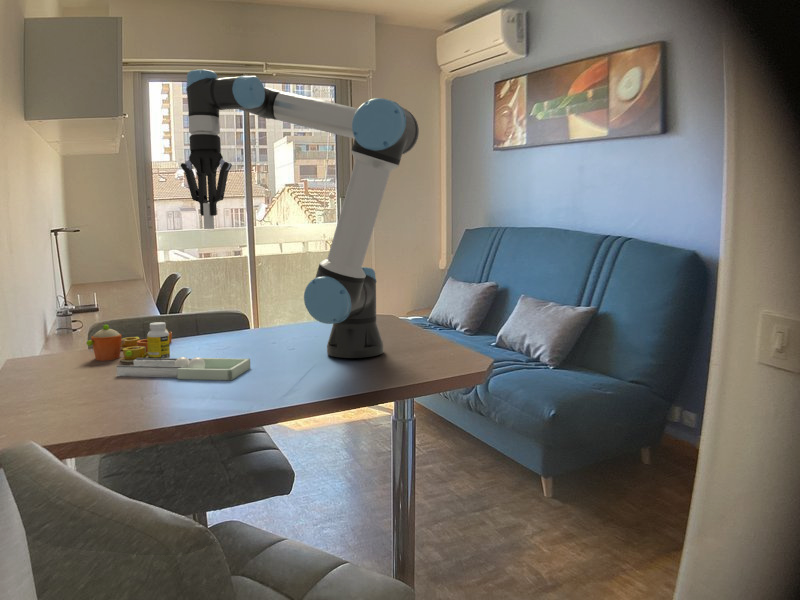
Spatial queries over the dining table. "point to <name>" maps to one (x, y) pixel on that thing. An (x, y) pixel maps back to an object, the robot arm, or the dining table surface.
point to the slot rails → (150, 368)
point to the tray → (216, 369)
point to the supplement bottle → (158, 341)
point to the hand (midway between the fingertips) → (209, 228)
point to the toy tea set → (118, 345)
